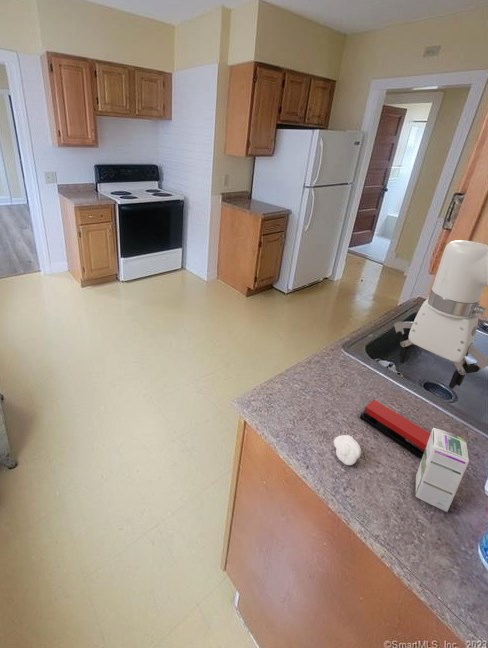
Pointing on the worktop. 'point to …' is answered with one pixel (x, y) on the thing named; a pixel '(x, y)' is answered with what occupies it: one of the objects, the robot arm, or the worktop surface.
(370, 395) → the worktop surface
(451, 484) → the syrup box
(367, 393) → the worktop surface
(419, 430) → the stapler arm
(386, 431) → the stapler base
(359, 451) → the dumpling
